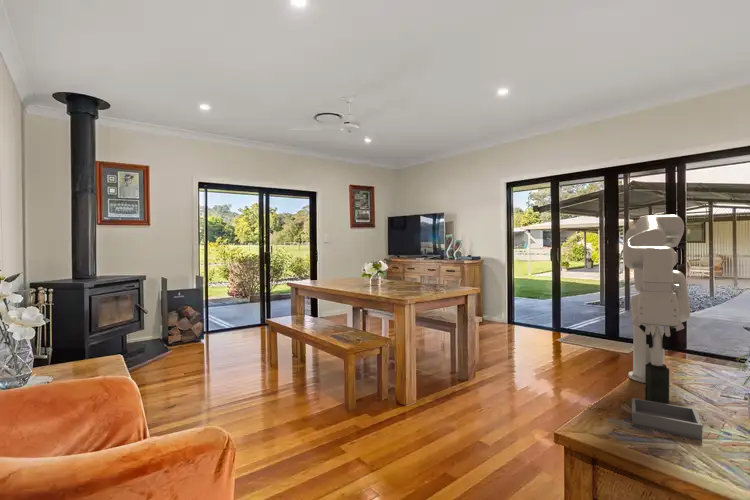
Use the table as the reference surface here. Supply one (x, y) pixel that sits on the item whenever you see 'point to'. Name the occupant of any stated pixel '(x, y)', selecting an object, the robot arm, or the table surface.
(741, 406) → the table surface
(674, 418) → the tray
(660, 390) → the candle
